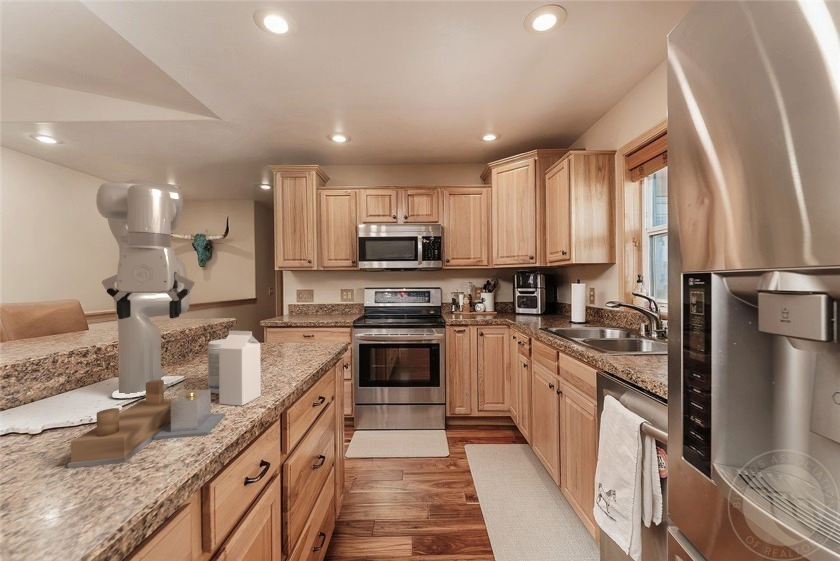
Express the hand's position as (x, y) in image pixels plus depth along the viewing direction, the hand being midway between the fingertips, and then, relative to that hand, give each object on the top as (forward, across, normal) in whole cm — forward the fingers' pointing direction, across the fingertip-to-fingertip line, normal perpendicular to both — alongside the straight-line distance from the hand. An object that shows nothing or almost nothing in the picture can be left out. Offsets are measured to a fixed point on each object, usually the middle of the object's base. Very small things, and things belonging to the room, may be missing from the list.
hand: (149, 317), depth 73 cm
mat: (+24, +10, -4) cm, 26 cm away
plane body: (+24, 0, -7) cm, 25 cm away
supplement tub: (+25, +9, +22) cm, 35 cm away
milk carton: (+25, +16, +10) cm, 31 cm away
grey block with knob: (+23, +10, -4) cm, 26 cm away
